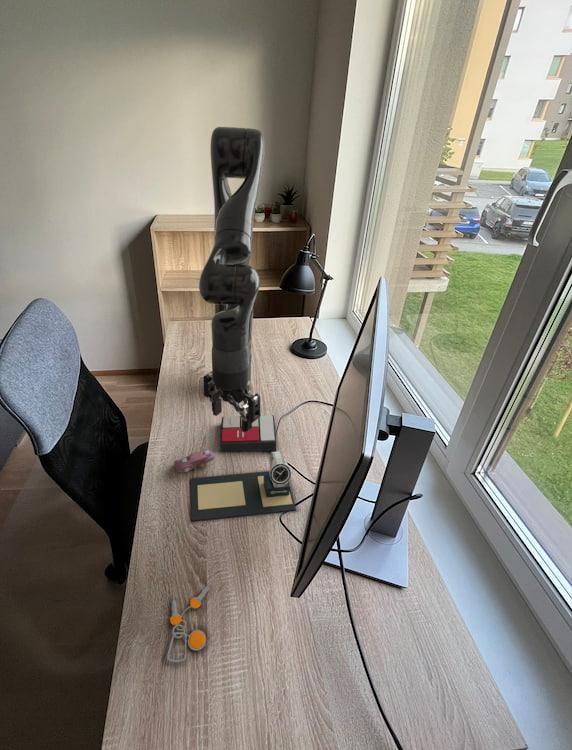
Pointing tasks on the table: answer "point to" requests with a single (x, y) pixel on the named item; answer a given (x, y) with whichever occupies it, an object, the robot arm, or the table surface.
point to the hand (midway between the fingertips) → (231, 421)
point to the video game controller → (194, 460)
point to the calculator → (248, 434)
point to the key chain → (196, 637)
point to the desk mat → (235, 497)
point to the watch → (277, 476)
